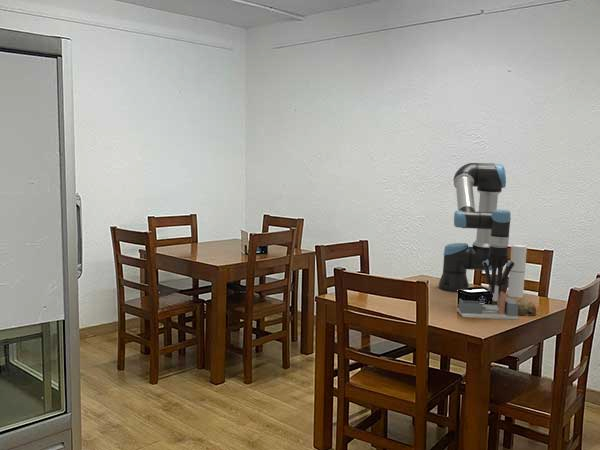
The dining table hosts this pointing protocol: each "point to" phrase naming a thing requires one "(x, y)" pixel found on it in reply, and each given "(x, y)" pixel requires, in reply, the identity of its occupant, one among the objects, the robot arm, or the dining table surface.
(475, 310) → the guide base
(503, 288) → the mortar and pestle
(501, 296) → the slip tube
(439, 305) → the dining table surface
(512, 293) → the cylindrical container
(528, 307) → the bread roll
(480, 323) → the dining table surface
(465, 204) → the robot arm
